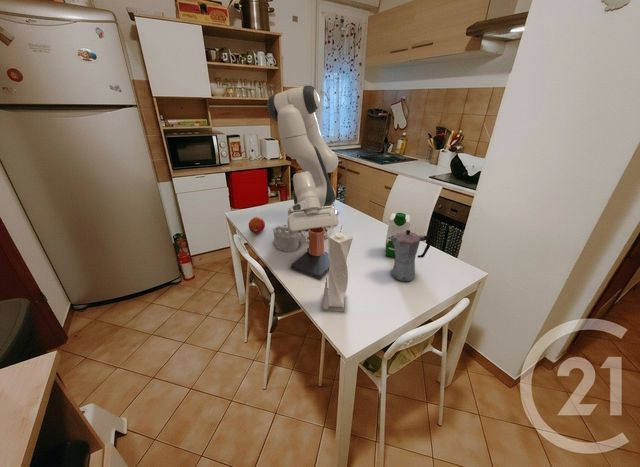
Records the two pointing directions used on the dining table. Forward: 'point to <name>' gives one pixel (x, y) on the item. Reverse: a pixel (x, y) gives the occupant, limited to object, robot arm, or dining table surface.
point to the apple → (256, 225)
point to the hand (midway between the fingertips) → (317, 240)
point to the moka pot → (407, 254)
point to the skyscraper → (337, 272)
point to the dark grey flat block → (312, 264)
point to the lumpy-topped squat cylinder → (285, 239)
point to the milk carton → (396, 230)
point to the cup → (317, 241)
